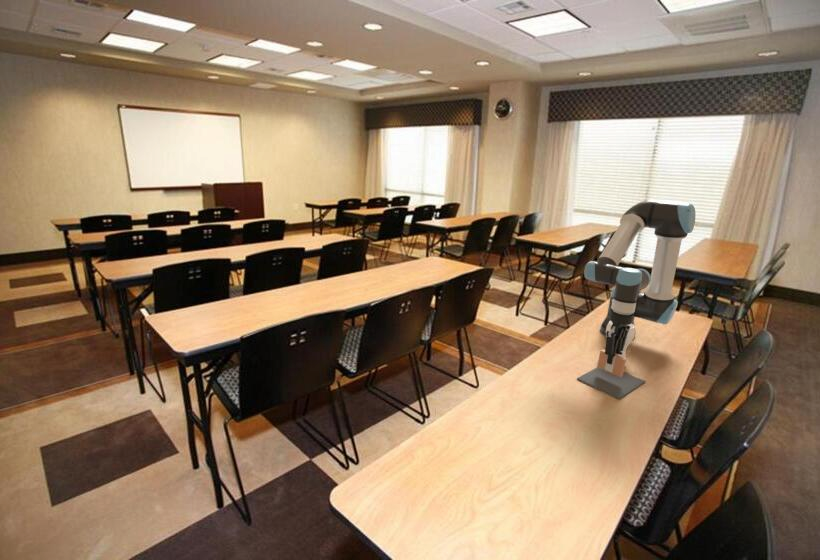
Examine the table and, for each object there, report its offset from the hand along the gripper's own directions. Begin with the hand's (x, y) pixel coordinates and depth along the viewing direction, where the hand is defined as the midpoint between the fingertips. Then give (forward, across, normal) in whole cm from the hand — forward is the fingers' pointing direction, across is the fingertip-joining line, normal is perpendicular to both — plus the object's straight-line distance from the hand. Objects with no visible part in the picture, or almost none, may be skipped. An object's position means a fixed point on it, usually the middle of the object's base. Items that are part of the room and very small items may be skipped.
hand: (610, 369), depth 152 cm
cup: (+4, -21, -8) cm, 23 cm away
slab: (+1, 0, 0) cm, 1 cm away
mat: (+4, 0, +1) cm, 4 cm away
